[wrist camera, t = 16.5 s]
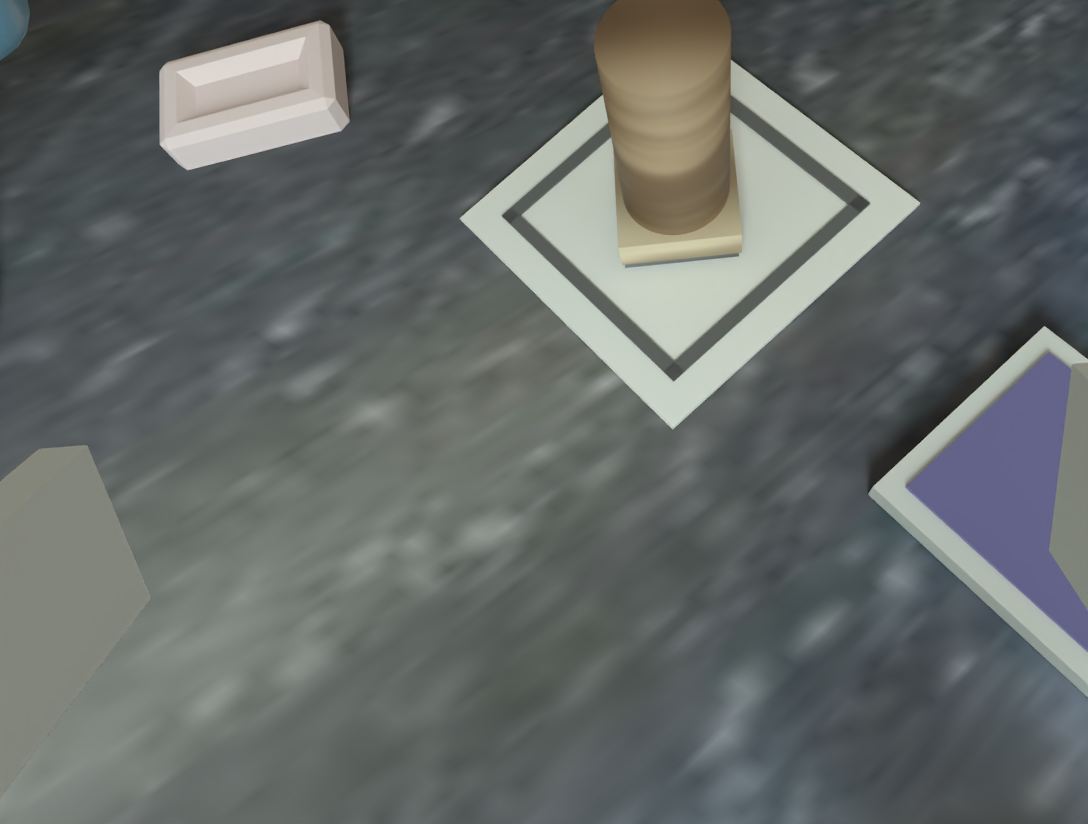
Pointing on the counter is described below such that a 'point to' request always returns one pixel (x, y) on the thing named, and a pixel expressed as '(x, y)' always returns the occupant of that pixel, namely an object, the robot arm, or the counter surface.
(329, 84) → the soap bar
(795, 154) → the sheet
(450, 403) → the counter surface
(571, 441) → the counter surface
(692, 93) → the stamp
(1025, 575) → the ink pad
